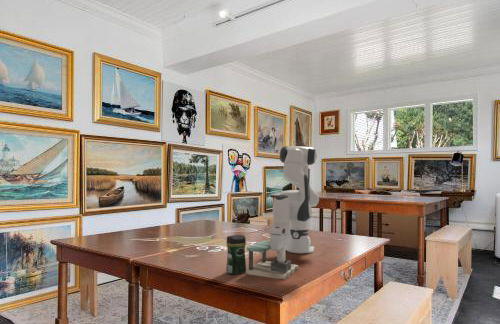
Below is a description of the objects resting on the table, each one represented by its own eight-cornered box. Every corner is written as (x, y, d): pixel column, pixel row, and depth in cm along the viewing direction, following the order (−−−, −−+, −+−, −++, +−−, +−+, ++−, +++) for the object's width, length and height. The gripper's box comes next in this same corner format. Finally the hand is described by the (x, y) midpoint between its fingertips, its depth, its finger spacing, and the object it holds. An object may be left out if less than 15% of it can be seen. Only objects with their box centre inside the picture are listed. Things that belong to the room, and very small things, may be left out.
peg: (278, 266, 172) (279, 242, 172) (286, 267, 170) (286, 242, 170) (276, 268, 168) (276, 243, 168) (283, 269, 166) (283, 244, 167)
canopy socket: (262, 264, 186) (262, 240, 186) (297, 269, 177) (298, 243, 178) (246, 273, 168) (247, 247, 168) (285, 279, 159) (285, 251, 160)
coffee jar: (239, 269, 176) (239, 233, 177) (248, 272, 170) (248, 235, 171) (223, 272, 171) (223, 234, 171) (232, 276, 164) (232, 237, 165)
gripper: (282, 224, 180) (282, 251, 180) (267, 230, 162) (267, 259, 161) (293, 225, 178) (293, 252, 177) (280, 231, 159) (280, 261, 159)
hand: (281, 256), depth 169 cm, fingers closed on peg, 4 cm apart
